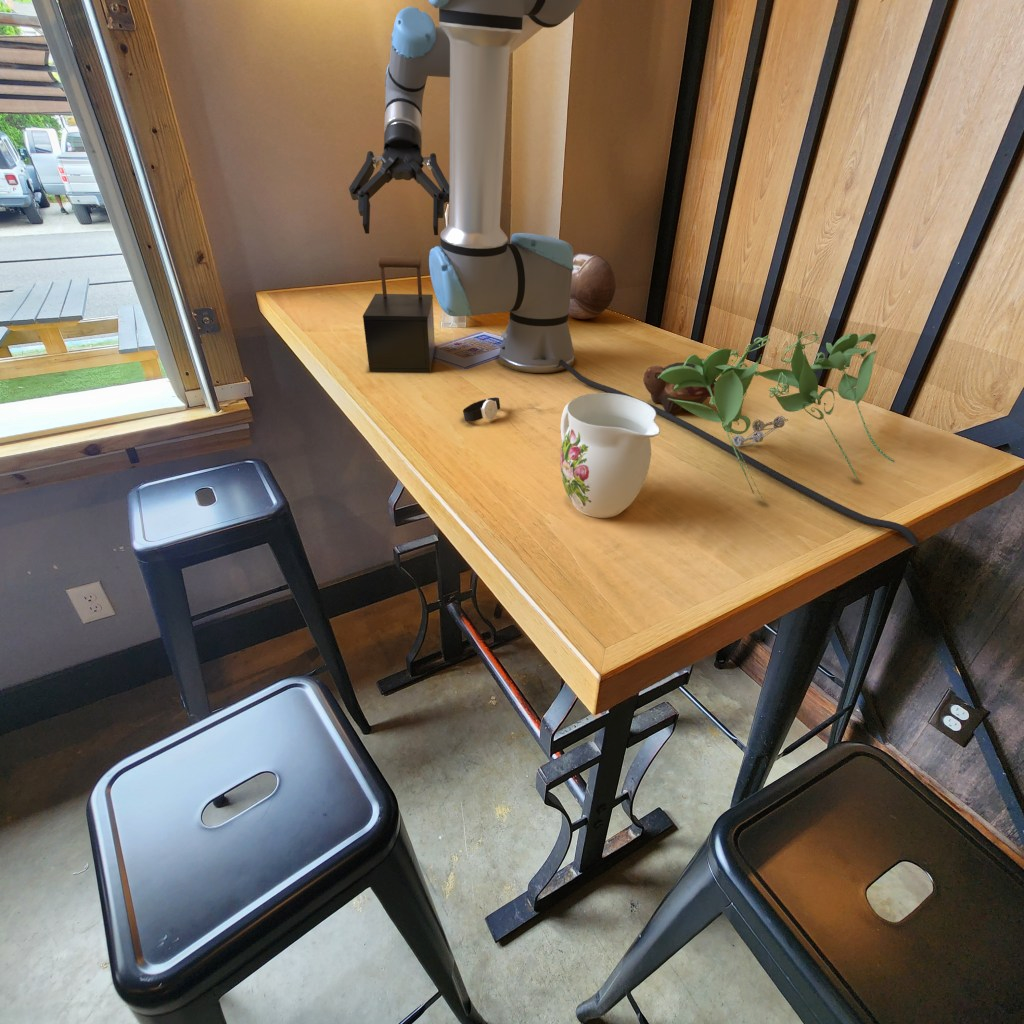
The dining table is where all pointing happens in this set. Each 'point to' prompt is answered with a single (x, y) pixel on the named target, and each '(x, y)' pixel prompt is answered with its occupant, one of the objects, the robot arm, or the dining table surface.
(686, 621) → the dining table surface
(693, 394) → the decorative turtle
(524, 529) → the dining table surface
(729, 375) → the plant cuttings
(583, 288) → the wooden sphere
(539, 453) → the dining table surface
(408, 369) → the open box
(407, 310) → the bacon press
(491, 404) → the watch
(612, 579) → the dining table surface
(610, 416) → the pitcher
